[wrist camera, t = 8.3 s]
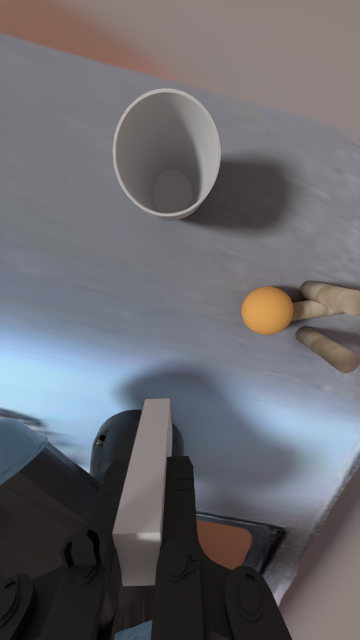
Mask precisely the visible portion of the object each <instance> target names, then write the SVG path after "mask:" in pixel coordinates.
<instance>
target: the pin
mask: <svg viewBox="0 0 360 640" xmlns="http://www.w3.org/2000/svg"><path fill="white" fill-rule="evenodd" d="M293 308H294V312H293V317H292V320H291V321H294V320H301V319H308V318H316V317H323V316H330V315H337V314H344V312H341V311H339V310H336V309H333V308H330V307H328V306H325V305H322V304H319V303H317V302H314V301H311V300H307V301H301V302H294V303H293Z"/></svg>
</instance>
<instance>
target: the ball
mask: <svg viewBox="0 0 360 640" xmlns="http://www.w3.org/2000/svg"><path fill="white" fill-rule="evenodd" d="M293 312H294V308H293V303H292V301H291V299H290V297H289V296H288V295H287V294H286V293H285V292H284V291H282V290H281V289H278V288H275V287H261V288H258V289H255V290H254V291H252V292H251V293H250V294H249V295H248V296H247V297H246V298H245V300H244V302H243V305H242V317H243V320H244V322H245V324H246V325H247V326H248V327H249V328H250V329H251V330H253V331H254V332H256V333H259V334H264V335H271V334H275V333H278V332H280V331H282V330H283V329H285V328H286V327H287V326H288V325H289V323H290V322H291V320H292V317H293Z"/></svg>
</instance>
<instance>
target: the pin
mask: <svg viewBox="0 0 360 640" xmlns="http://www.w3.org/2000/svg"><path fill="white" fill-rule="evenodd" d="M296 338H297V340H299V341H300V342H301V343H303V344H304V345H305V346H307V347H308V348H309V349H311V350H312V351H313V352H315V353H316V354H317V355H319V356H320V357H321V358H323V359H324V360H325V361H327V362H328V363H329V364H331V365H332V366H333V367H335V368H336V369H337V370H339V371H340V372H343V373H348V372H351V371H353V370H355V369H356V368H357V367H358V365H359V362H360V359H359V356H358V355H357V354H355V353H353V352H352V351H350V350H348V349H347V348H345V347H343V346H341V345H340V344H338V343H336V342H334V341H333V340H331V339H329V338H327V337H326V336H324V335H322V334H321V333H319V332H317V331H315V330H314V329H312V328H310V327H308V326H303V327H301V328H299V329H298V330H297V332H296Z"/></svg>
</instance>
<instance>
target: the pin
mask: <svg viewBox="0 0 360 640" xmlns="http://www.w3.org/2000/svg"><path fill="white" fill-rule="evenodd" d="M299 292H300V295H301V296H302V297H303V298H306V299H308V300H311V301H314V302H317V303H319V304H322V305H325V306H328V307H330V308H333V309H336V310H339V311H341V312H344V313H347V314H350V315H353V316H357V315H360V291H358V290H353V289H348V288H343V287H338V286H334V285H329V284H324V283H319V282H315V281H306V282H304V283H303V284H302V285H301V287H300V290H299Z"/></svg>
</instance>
